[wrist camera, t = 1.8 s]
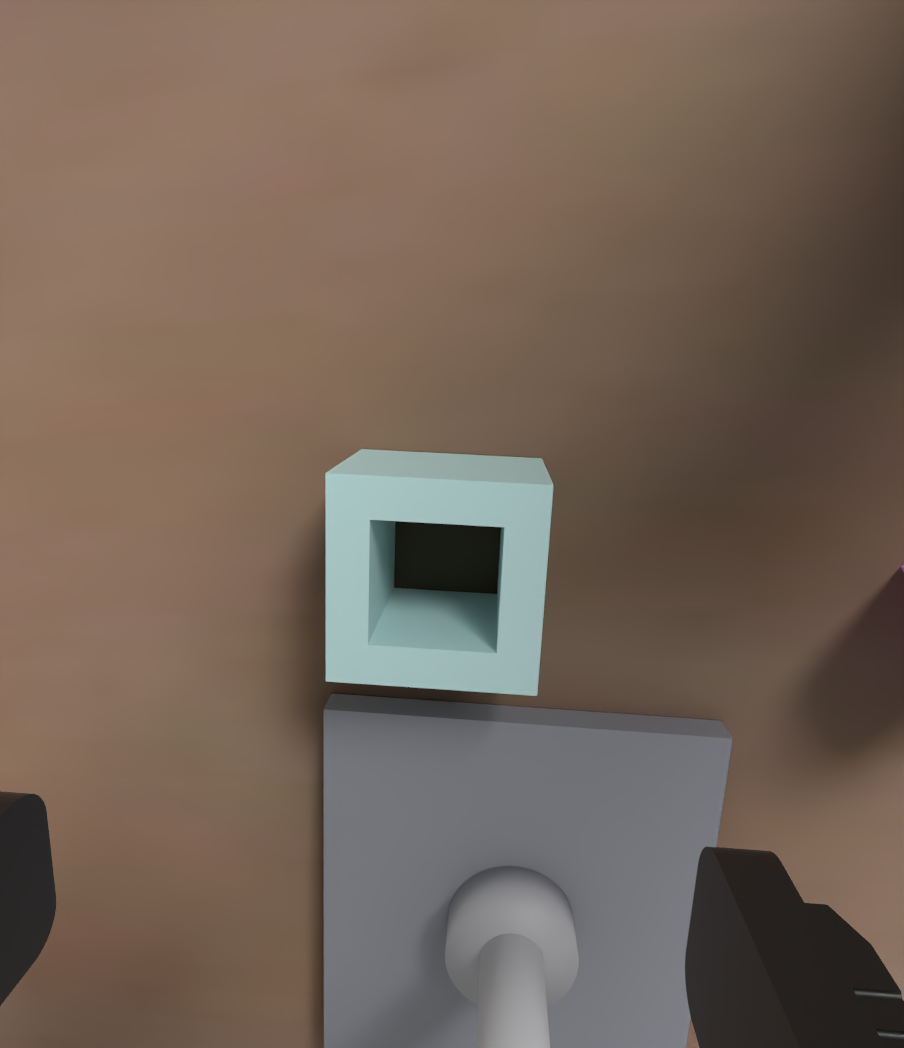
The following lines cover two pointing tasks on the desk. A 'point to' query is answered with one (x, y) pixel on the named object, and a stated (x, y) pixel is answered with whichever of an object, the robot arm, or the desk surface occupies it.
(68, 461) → the desk surface
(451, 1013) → the post block
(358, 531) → the collar
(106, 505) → the desk surface
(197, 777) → the desk surface
